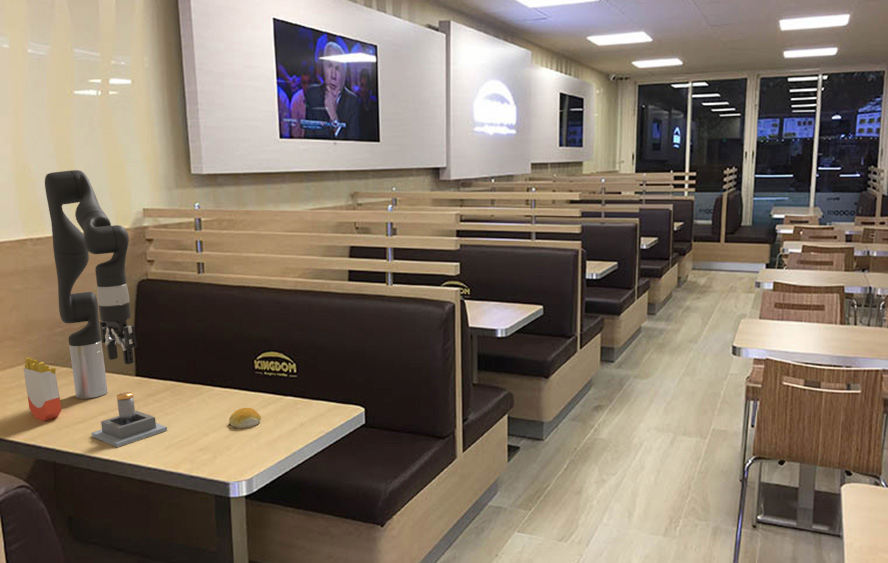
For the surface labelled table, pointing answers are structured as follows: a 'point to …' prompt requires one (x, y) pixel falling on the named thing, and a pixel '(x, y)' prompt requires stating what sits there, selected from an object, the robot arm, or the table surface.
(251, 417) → the bread roll
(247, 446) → the table surface
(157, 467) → the table surface
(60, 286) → the robot arm
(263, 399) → the table surface
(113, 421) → the socket
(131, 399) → the cylinder
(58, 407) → the french fries container
